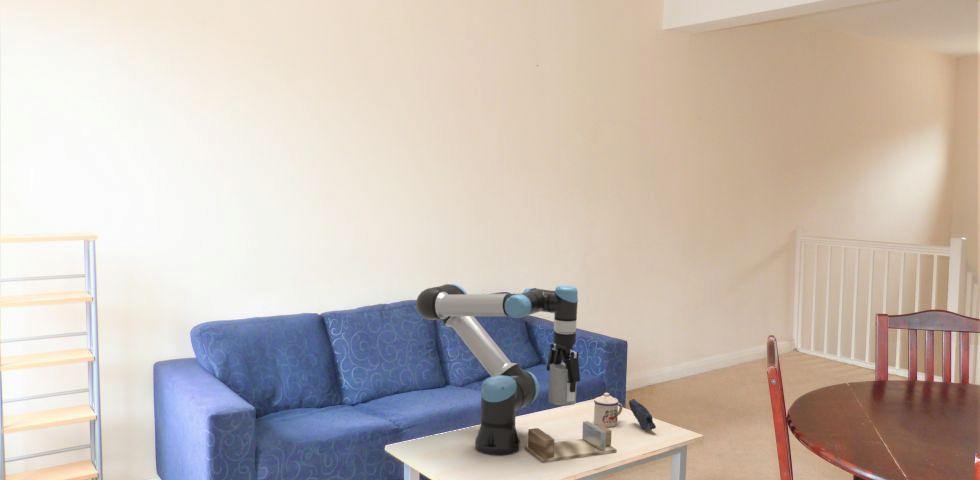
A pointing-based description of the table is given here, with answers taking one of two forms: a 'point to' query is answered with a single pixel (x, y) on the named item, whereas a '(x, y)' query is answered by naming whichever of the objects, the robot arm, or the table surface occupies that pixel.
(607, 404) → the teacup with lid
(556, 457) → the press
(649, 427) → the stone
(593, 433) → the slide jaw
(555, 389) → the gray cylinder
